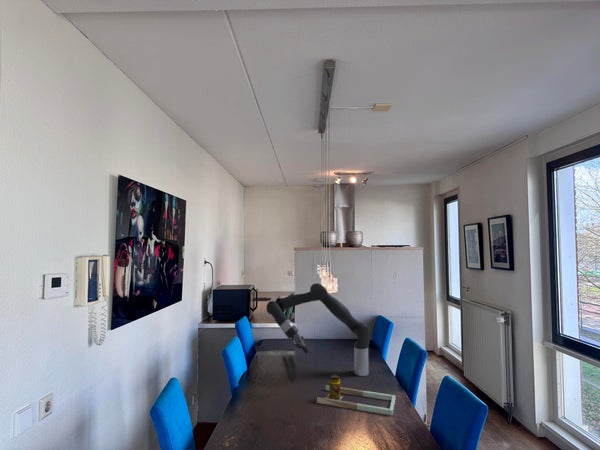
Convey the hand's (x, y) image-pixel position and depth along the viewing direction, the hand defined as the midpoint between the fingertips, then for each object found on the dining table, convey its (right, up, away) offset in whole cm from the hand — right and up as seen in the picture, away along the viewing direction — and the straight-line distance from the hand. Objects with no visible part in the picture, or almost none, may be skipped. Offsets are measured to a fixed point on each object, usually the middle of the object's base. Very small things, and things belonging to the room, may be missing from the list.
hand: (307, 352), depth 199 cm
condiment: (+14, -22, -9) cm, 28 cm away
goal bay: (+36, -22, -17) cm, 46 cm away
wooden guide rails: (+18, -22, -11) cm, 31 cm away
